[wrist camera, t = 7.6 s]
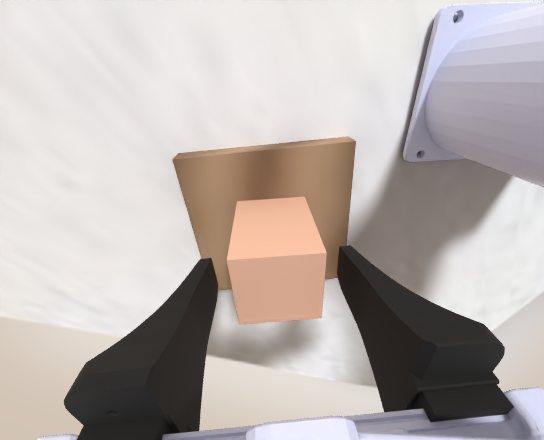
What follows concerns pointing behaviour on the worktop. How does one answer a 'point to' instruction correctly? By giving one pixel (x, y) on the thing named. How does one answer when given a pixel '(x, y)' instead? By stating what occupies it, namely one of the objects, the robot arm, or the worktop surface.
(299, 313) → the terracotta block
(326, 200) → the walnut board
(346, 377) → the worktop surface
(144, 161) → the worktop surface
